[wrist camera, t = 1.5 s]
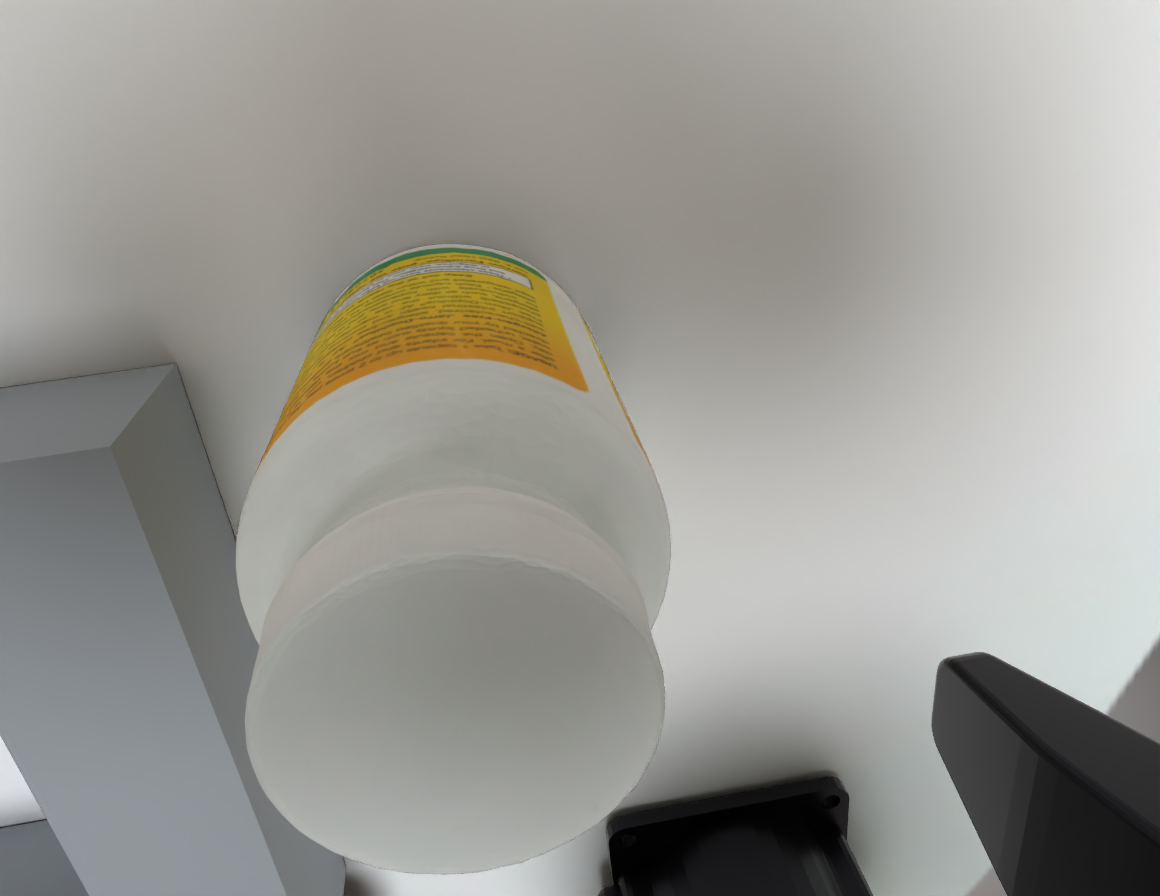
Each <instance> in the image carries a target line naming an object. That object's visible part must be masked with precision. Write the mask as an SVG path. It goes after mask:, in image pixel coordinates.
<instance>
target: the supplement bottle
mask: <svg viewBox="0 0 1160 896" xmlns="http://www.w3.org/2000/svg"><path fill="white" fill-rule="evenodd" d="M670 557H671V543H670V526H669V521H668V515H667V509H666V506H665V503H664V499H663V496H662V493H661V490H660V487H659V484H658V481H657V479H656V476H655V474H654V471H653V469H652V467H651V464H650V462H649V460H648V457H647V455H646V452H645V450H644V448H643V446H642V444H641V442H640V440H639V438H638V435H637V433H636V431H635V429H634V427H633V425H632V423H631V420H630V418H629V416H628V414H627V412H626V410H625V407H624V405H623V403H622V401H621V399H620V397H619V395H618V393H617V391H616V389H615V387H614V384H613V382H612V380H611V378H610V375H609V373H608V371H607V368H606V366H605V364H604V361H603V359H602V357H601V354H600V352H599V350H598V348H597V345H596V343H595V341H594V339H593V336H592V334H591V332H590V330H589V328H588V326H587V324H586V322H585V321H584V319H583V317H582V315H581V314H580V312H579V311H578V309H577V307H576V306H575V304H574V303H573V302H572V301H571V299H570V298H569V297H568V296H567V295H566V293H565V292H564V291H563V290H562V289H561V288H560V287H559V286H558V285H557V284H556V283H555V282H554V281H553V280H552V279H551V278H549V277H548V276H547V275H545V274H544V273H543V272H541V271H540V270H538V269H537V268H535V267H534V266H532V265H531V264H529V263H528V262H526V261H524V260H522V259H520V258H518V257H515V256H513V255H511V254H509V253H505V252H502V251H498V250H495V249H490V248H485V247H480V246H471V245H463V244H438V245H428V246H422V247H417V248H413V249H409V250H406V251H403V252H400V253H397V254H395V255H392V256H390V257H388V258H386V259H384V260H382V261H380V262H378V263H377V264H375V265H373V266H372V267H370V268H369V269H367V270H366V271H365V272H363V273H362V274H360V275H359V276H358V277H357V278H356V279H355V280H354V281H353V282H352V283H350V284H349V285H348V286H347V288H346V289H345V290H344V291H343V292H342V293H341V294H340V295H339V296H338V298H337V299H336V301H335V302H334V303H333V305H332V306H331V308H330V310H329V311H328V313H327V315H326V317H325V319H324V320H323V322H322V324H321V326H320V328H319V331H318V333H317V335H316V337H315V339H314V341H313V343H312V345H311V347H310V349H309V352H308V354H307V357H306V359H305V361H304V364H303V366H302V368H301V371H300V373H299V375H298V377H297V379H296V382H295V384H294V387H293V389H292V391H291V394H290V396H289V398H288V401H287V403H286V405H285V407H284V409H283V412H282V414H281V416H280V419H279V421H278V424H277V426H276V428H275V430H274V433H273V435H272V437H271V440H270V442H269V444H268V446H267V449H266V451H265V453H264V455H263V457H262V459H261V462H260V464H259V467H258V469H257V471H256V473H255V476H254V478H253V480H252V482H251V485H250V487H249V490H248V493H247V496H246V499H245V502H244V506H243V509H242V512H241V517H240V521H239V526H238V533H237V539H236V575H237V583H238V588H239V594H240V599H241V603H242V606H243V609H244V612H245V615H246V617H247V620H248V622H249V625H250V627H251V630H252V632H253V634H254V636H255V639H256V640H257V642H258V644H259V650H258V654H257V658H256V662H255V666H254V671H253V675H252V679H251V683H250V687H249V692H248V696H247V702H246V712H245V733H246V746H247V751H248V754H249V757H250V761H251V764H252V767H253V769H254V772H255V774H256V777H257V779H258V781H259V784H260V786H261V787H262V789H263V791H264V792H265V794H266V796H267V797H268V799H269V800H270V801H271V802H272V804H273V805H274V806H275V807H276V808H277V810H278V811H279V812H280V813H281V814H282V815H283V816H284V817H285V818H286V819H287V820H288V821H289V822H290V823H291V824H292V825H293V826H294V827H295V828H296V829H297V830H299V831H300V832H301V833H303V834H304V835H306V836H307V837H308V838H310V839H312V840H313V841H315V842H316V843H318V844H320V845H322V846H323V847H325V848H327V849H329V850H330V851H332V852H334V853H337V854H339V855H342V856H344V857H346V858H348V859H351V860H354V861H357V862H361V863H364V864H367V865H370V866H374V867H377V868H381V869H386V870H392V871H397V872H405V873H421V874H443V875H445V874H463V873H475V872H482V871H487V870H492V869H496V868H500V867H504V866H509V865H513V864H518V863H522V862H524V861H526V860H529V859H531V858H533V857H536V856H539V855H542V854H544V853H546V852H549V851H551V850H553V849H555V848H557V847H559V846H561V845H563V844H564V843H567V842H569V841H571V840H573V839H574V838H576V837H578V836H579V835H581V834H582V833H584V832H586V831H587V830H589V829H591V828H592V827H593V826H595V825H596V824H597V823H599V822H600V821H601V820H603V819H604V818H605V817H606V816H607V815H608V814H609V813H611V812H612V811H613V810H614V809H615V808H616V807H617V806H618V805H619V804H620V803H621V802H622V800H623V799H624V798H625V797H626V796H627V795H628V794H629V793H630V792H631V791H632V789H633V788H634V787H635V786H636V784H637V783H638V781H639V779H640V778H641V776H642V774H643V773H644V771H645V769H646V768H647V766H648V764H649V762H650V760H651V758H652V756H653V754H654V752H655V750H656V748H657V745H658V742H659V739H660V735H661V731H662V726H663V720H664V707H665V689H664V678H663V670H662V667H661V664H660V661H659V657H658V654H657V651H656V648H655V645H654V642H653V638H652V635H651V631H650V630H651V629H652V627H653V625H654V622H655V620H656V618H657V615H658V613H659V610H660V607H661V605H662V602H663V599H664V595H665V591H666V587H667V581H668V575H669V570H670Z"/></svg>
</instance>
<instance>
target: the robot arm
mask: <svg viewBox="0 0 1160 896" xmlns="http://www.w3.org/2000/svg"><path fill="white" fill-rule="evenodd" d="M932 732H933V737H934V740H935V744H936V746H937V749H938V751H939V753H940V755H941V757H942V760H943V762H944V764H945V766H946V768H947V770H948V772H949V774H950V776H951V779H952V781H953V783H954V785H955V787H956V789H957V791H958V793H959V795H960V798H961V800H962V802H963V804H964V806H965V808H966V810H967V812H968V814H969V817H970V819H971V821H972V823H973V825H974V827H975V829H976V831H977V833H978V836H979V838H980V840H981V842H982V844H983V846H984V848H985V850H986V852H987V855H988V857H989V859H990V861H991V863H992V865H993V867H994V869H995V871H996V874H997V876H998V878H999V880H1000V881H1001V883H1002V886H1003V887H1004V890H1005V892H1006V894H1007V895H1008V896H1160V743H1159V742H1157V741H1155V740H1153V739H1151V738H1150V737H1147V736H1146V735H1144V734H1142V733H1140V732H1138V731H1136V730H1134V729H1132V728H1130V727H1128V726H1126V725H1125V724H1123V723H1121V722H1119V721H1117V720H1115V719H1113V718H1111V717H1109V716H1107V715H1106V714H1104V713H1102V712H1100V711H1098V710H1096V709H1094V708H1092V707H1090V706H1088V705H1086V704H1084V703H1083V702H1081V701H1079V700H1077V699H1075V698H1073V697H1071V696H1069V695H1067V694H1065V693H1063V692H1062V691H1060V690H1058V689H1056V688H1054V687H1052V686H1050V685H1048V684H1046V683H1044V682H1042V681H1040V680H1039V679H1037V678H1035V677H1033V676H1031V675H1029V674H1027V673H1025V672H1023V671H1021V670H1019V669H1018V668H1016V667H1014V666H1012V665H1010V664H1008V663H1006V662H1004V661H1002V660H1000V659H998V658H996V657H995V656H992V655H990V654H988V653H984V652H975V653H969V654H964V655H958V656H953V657H948V658H945V659H943V660H942V661H941V662H940V664H939V666H938V669H937V675H936V685H935V694H934V703H933V712H932ZM848 809H849V796H848V793H847V791H846V789H845V787H844V785H843V783H842V782H841V781H840V780H839V779H838V778H836V777H822V778H817V779H812V780H806V781H801V782H796V783H791V784H785V785H780V786H775V787H770V788H765V789H759V790H754V791H749V792H744V793H738V794H733V795H728V796H723V797H717V798H712V799H707V800H702V801H696V802H691V803H686V804H681V805H675V806H670V807H665V808H660V809H655V810H649V811H644V812H639V813H634V814H628V815H623V816H620V817H617V818H615V819H614V820H612V821H611V822H610V823H609V824H608V826H607V828H606V837H607V845H608V853H609V861H610V869H611V877H612V884H613V885H608V886H603V888H602V890H601V891H600V893H599V894H598V896H873V894H872V892H871V890H870V888H869V886H868V884H867V882H866V880H865V878H864V876H863V874H862V872H861V870H860V868H859V866H858V864H857V862H856V859H855V857H854V855H853V853H852V851H851V849H850V847H849V845H848V843H847V826H848Z"/></svg>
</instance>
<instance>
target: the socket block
mask: <svg viewBox="0 0 1160 896" xmlns="http://www.w3.org/2000/svg"><path fill="white" fill-rule="evenodd" d="M258 650H259V644H258V642H257V640H256V639H255V636H254V634H253V632H252V630H251V627H250V625H249V622H248V620H247V617H246V615H245V612H244V609H243V606H242V603H241V599H240V594H239V588H238V583H237V575H236V540H235V537H234V534H233V531H232V528H231V525H230V522H229V519H228V516H227V513H226V510H225V507H224V504H223V501H222V498H221V496H220V493H219V490H218V487H217V484H216V481H215V478H214V475H213V472H212V469H211V466H210V463H209V460H208V457H207V454H206V451H205V448H204V445H203V442H202V439H201V436H200V433H199V430H198V427H197V424H196V421H195V418H194V416H193V413H192V410H191V407H190V404H189V401H188V398H187V395H186V392H185V389H184V386H183V383H182V380H181V377H180V374H179V371H178V368H177V365H176V363H175V364H168V365H161V366H153V367H146V368H139V369H132V370H125V371H118V372H111V373H104V374H97V375H90V376H83V377H76V378H69V379H62V380H55V381H48V382H41V383H34V384H27V385H20V386H12V387H5V388H0V736H1V737H2V739H3V741H4V743H5V745H6V747H7V748H8V750H9V752H10V754H11V756H12V757H13V759H14V761H15V763H16V765H17V766H18V768H19V770H20V772H21V774H22V775H23V777H24V779H25V781H26V783H27V784H28V786H29V788H30V790H31V792H32V793H33V795H34V797H35V799H36V801H37V802H38V804H39V806H40V808H41V810H42V811H43V813H44V815H45V817H46V819H47V820H44V821H38V822H33V823H27V824H22V825H16V826H11V827H5V828H0V896H343V894H344V885H345V877H346V866H345V863H344V860H343V857H342V855H339V854H337V853H334V852H332V851H330V850H329V849H327V848H325V847H323V846H322V845H320V844H318V843H316V842H315V841H313V840H312V839H310V838H308V837H307V836H306V835H304V834H303V833H301V832H300V831H299V830H297V829H296V828H295V827H294V826H293V825H292V824H291V823H290V822H289V821H288V820H287V819H286V818H285V817H284V816H283V815H282V814H281V813H280V812H279V811H278V810H277V808H276V807H275V806H274V805H273V804H272V802H271V801H270V800H269V799H268V797H267V796H266V794H265V792H264V791H263V789H262V787H261V786H260V784H259V781H258V779H257V777H256V774H255V772H254V769H253V767H252V764H251V761H250V757H249V754H248V751H247V746H246V733H245V712H246V702H247V696H248V692H249V687H250V683H251V679H252V675H253V671H254V666H255V662H256V658H257V654H258Z"/></svg>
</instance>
